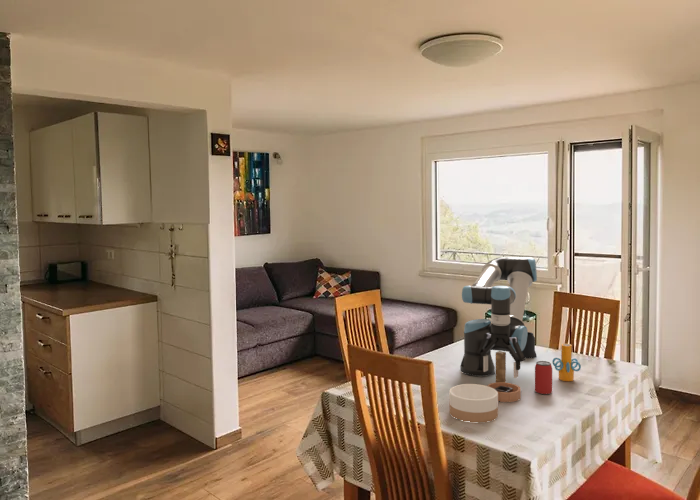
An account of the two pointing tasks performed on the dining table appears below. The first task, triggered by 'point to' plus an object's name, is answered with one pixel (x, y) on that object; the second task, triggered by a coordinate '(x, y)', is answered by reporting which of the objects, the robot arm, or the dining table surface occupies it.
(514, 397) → the shallow terracotta dish
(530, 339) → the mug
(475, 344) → the robot arm
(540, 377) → the beer can
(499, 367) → the tall wooden post
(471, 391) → the bowl
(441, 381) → the dining table surface
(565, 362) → the cylinder
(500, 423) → the dining table surface
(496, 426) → the dining table surface
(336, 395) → the dining table surface
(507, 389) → the clip
